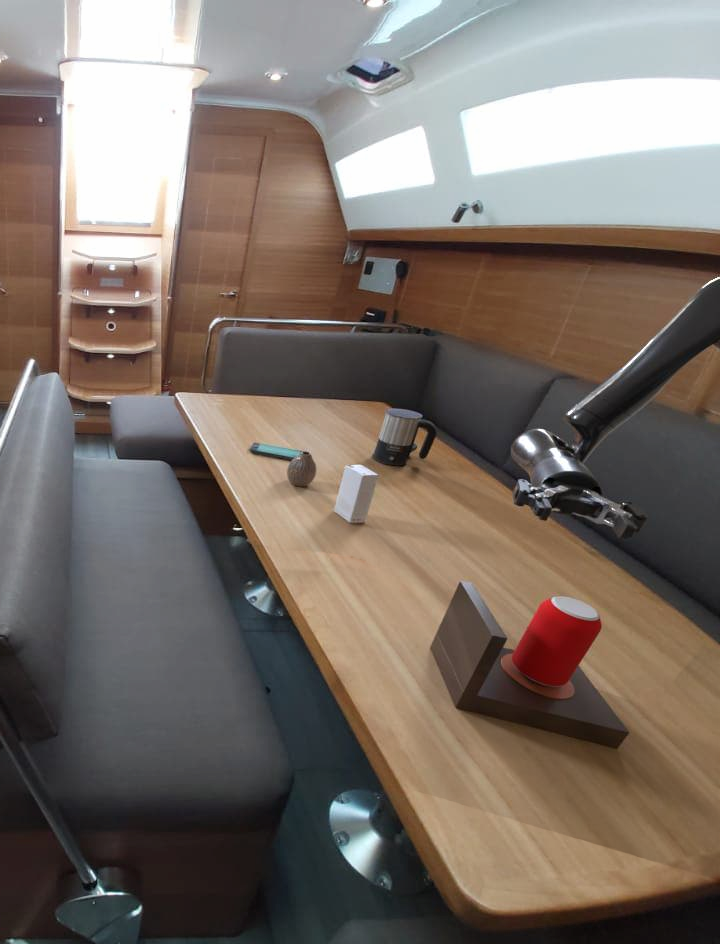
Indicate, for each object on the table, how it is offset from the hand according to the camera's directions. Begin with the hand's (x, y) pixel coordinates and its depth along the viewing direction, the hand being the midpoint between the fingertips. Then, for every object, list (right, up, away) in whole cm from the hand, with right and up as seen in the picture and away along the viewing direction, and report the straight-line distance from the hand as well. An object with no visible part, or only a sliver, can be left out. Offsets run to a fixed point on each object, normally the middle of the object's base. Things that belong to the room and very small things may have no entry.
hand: (585, 523), depth 70 cm
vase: (-13, +5, +62) cm, 64 cm away
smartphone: (-12, +14, +81) cm, 83 cm away
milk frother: (+25, +13, +82) cm, 86 cm away
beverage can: (-7, -21, 0) cm, 22 cm away
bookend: (-9, -24, +1) cm, 26 cm away
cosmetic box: (-8, -3, +46) cm, 47 cm away
